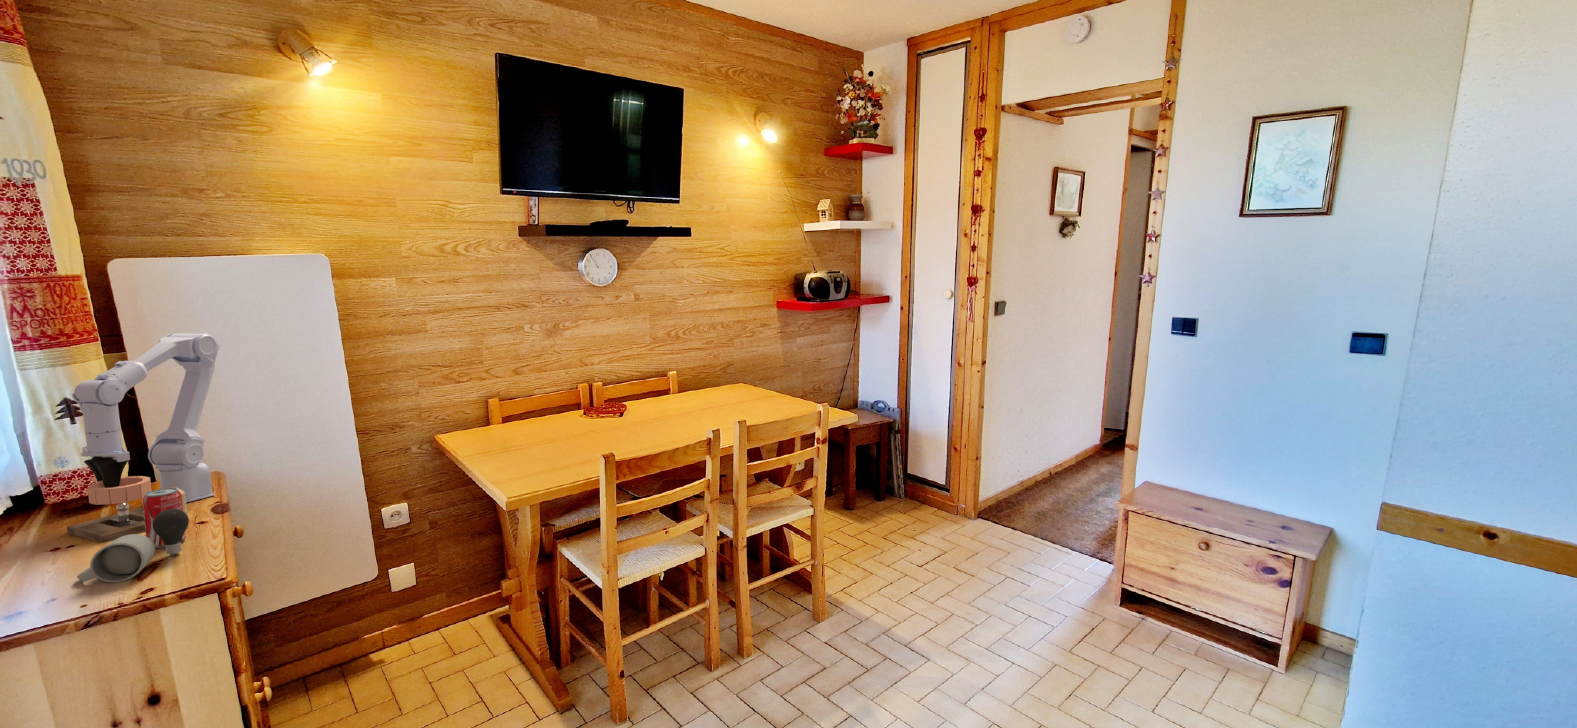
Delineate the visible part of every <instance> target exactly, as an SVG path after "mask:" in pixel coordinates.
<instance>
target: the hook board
mask: <svg viewBox="0 0 1577 728" xmlns="http://www.w3.org/2000/svg"><path fill="white" fill-rule="evenodd" d="M129 517H130V520H132V521H137V522H138V523H134V524H130V525H126V526H123V527H119V528H118V527H114V526H111V524H110V519H114V518H118V513H115V514H111V515H107V516H103V517H100V518H97V519H96V518H95V519H91V520H88V521H84V522H80V523H76V524H72V525H67V526H66V531H67V532H66V533H67V534H70V535H73V536H78V537H81V538H85V539H88V540H92V541H96V542H100V543H107V542H110V541H114V540H116V539H118V538H120V537H122V536H126V535H131V534H139V533H142V532H146V531H145V522H144V513H143V507H140V508H135V509H132V510H129Z"/></svg>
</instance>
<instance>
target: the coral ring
mask: <svg viewBox="0 0 1577 728" xmlns="http://www.w3.org/2000/svg"><path fill="white" fill-rule="evenodd" d="M149 491H152V482H151V477H150V476H144V475H137V476H136V475H133V476H132V475H131V476H124V477H123V476H121V480H120V484H119V487H113V488H105V487H104V484H103V481H100V482H97V481H96V482H94V483H91V484H89V485H88V486H87V495H88V503H89V504H91V505H95V506H96V505H114V504H119V503H123V502H125V503H129V502H132V501H137V500H140V499H143V498H144V496H145V493H147V492H149Z"/></svg>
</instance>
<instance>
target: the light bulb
mask: <svg viewBox="0 0 1577 728" xmlns="http://www.w3.org/2000/svg"><path fill="white" fill-rule="evenodd" d="M189 524H190V519H189V515H188V513H187V514H186V513H185V512H183V511H182V510H179V509H168V510H165V511H163V512H161V513H159V514H158V515H157V516H156V517H155V519H154V520H153V524H152V525H153V530H154V531H155V533H156V534H157V535H158V536H159V537H160V538H161V539H162V540H163V543H164V545H165V546H166V547H164V548H165V553H166V554H167V555H170V556H173V557H174V555H175V556H177V555H178V553H180V552H181V551H182V549H183V548H182V542H183V541H182V537H183V534H184V532H185V533H186V530H187V529H188V528H189ZM187 527H188V528H187ZM181 541H182V542H181Z"/></svg>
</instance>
